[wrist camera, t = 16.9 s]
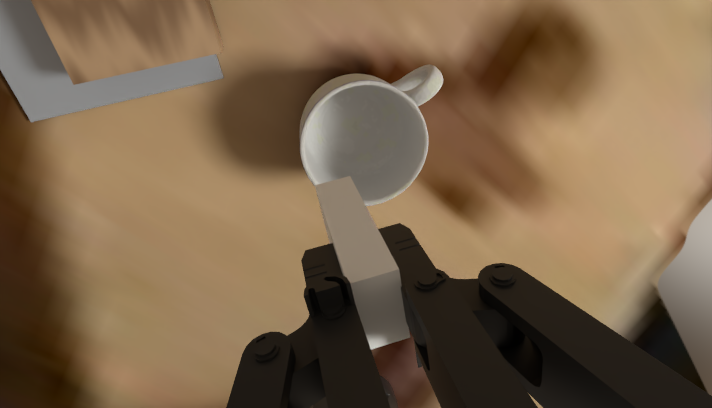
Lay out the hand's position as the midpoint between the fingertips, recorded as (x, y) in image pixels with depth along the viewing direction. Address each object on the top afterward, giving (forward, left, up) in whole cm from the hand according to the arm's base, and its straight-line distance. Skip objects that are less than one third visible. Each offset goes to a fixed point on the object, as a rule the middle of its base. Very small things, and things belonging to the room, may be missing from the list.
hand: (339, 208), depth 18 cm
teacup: (-4, -6, -24) cm, 25 cm away
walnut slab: (+9, +5, -22) cm, 24 cm away
